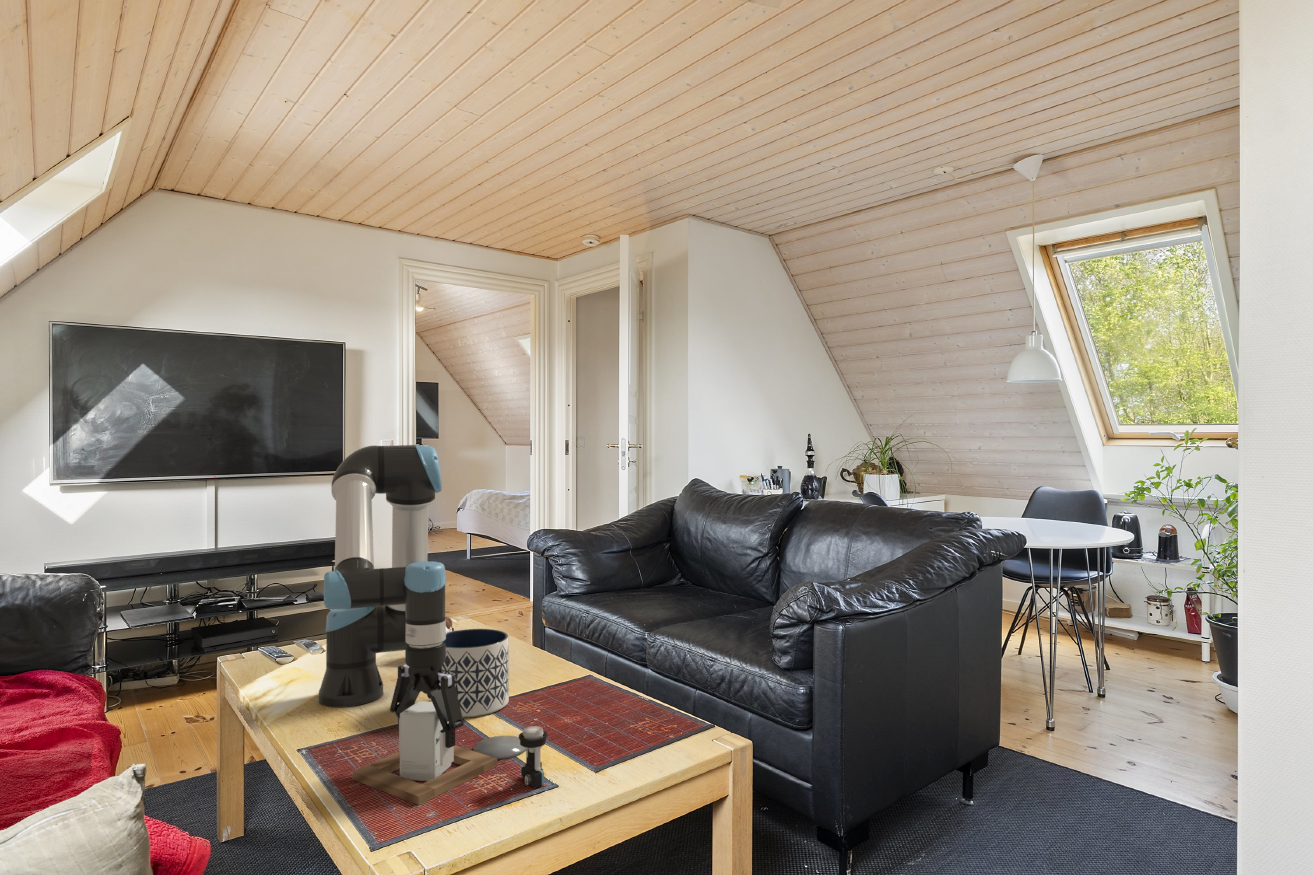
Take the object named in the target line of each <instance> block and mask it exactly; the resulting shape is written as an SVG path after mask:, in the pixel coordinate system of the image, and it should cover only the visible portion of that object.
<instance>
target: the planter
mask: <svg viewBox="0 0 1313 875" xmlns="http://www.w3.org/2000/svg"><path fill="white" fill-rule="evenodd" d="M443 642H444V643H445V644H446V660H445V662H444V663H443V665H442V670H443V673H444V674H447V675H449V674H452V673H453V674H454V675H455V688H456V692H457V697H458V701H459V705H460V709H461V713H462V717H463V719H466V718H476V717H481V716H486V715H491V714H493V713H495V712H498V711H499V710H501V709H503V708H504V707H506V706H507V705H508V703H509V700H510V665H509V664H510V663H509V662H510V658H509V657H510V656H509V653H510V651H509V648H510V647H509V646H510V644H509V635H508V633H507V632H505V631H502V630H498V629H490V628H470V629H469V628H467V629H459V630H458V629H457V630H452V632H448V633H446V639H445V640H444V641H443ZM438 690H439V689H438V688H437V690H436V691H438ZM434 692H435V691H434Z"/></svg>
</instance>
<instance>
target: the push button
mask: <svg viewBox="0 0 1313 875" xmlns="http://www.w3.org/2000/svg"><path fill="white" fill-rule="evenodd" d="M548 734H549V733H548V732H547V731H545V730H544V729H543V727H542V726H538V725H536V726H535V725H530V726H527V727H525V728H524V729H523V731H522V732H520V733H519V734H518V737H519V740H520V745H521V746H523V747H525V748H526V751H525V764H524V766H522V767H520V769H519V770H520V771H521V772H520V773H519V775H520V776H522V780H523V782H524V784H525V785H526V786H529V785H530V786H531V788H532V789H537V788H540V787H543V786H544V785H545V772H544V769H543V767H542V766H543V765H542V761H541V748H542V747H543V746H545V745H546V743H547V738H548V736H549V735H548Z"/></svg>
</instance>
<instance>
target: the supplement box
mask: <svg viewBox="0 0 1313 875" xmlns="http://www.w3.org/2000/svg"><path fill="white" fill-rule="evenodd" d="M447 723H449V722H447ZM442 729H443V728H442V725H441V723H440V720H439V718H438V715H437V713H436V710H435V708H434V705H433V703H432V701H424V700H423V701H422V700H420V701H417V702H415V703H414V705H412V706H411V707H409V708H408V709H406V710H405V711H403V712H402V713H400V768H399V776H401V777H403V778H406V779H409V780H412V781H417V782H427V781H429V780H432V779H434V778H436V777H438V776H440V775H442V774H444V772H446V770H448V769H449V768H451V766H452V762H451V763H449V764H447V765H445V766H440V731H441V730H442Z"/></svg>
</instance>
